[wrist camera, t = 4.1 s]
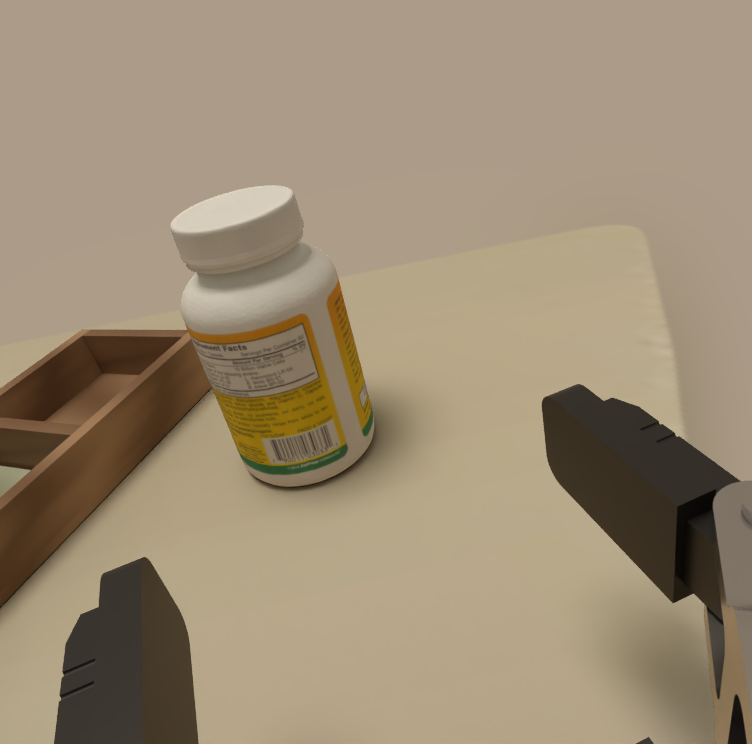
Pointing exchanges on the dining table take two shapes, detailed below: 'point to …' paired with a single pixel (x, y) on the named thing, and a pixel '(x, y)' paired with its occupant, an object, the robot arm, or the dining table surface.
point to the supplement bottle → (273, 336)
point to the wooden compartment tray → (84, 432)
